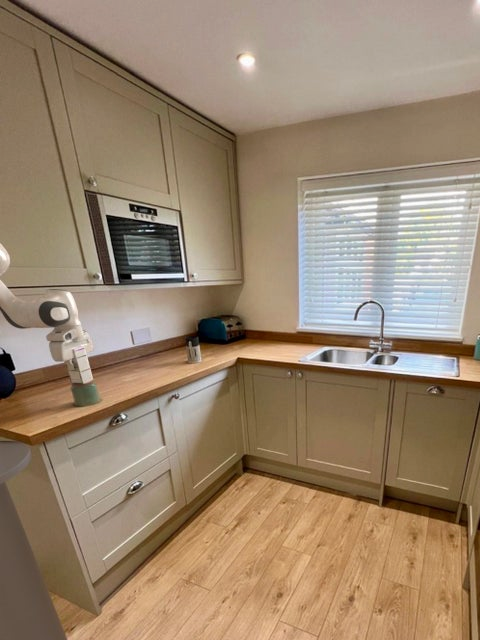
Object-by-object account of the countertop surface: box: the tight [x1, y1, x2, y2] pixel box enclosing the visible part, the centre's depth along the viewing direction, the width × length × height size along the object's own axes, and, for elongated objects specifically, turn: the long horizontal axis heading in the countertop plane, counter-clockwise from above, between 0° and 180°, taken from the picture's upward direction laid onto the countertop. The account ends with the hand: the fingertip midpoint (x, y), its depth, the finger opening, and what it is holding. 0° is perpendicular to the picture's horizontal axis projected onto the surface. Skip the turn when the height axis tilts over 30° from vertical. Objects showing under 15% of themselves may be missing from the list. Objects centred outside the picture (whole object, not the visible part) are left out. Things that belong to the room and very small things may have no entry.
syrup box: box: [65, 346, 94, 384], centre depth 133 cm, size 6×6×14 cm
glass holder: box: [184, 335, 203, 364], centre depth 199 cm, size 9×14×15 cm, turn 10°
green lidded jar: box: [69, 379, 101, 407], centre depth 137 cm, size 9×9×9 cm
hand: (78, 367), depth 133 cm, fingers closed on syrup box, 6 cm apart
